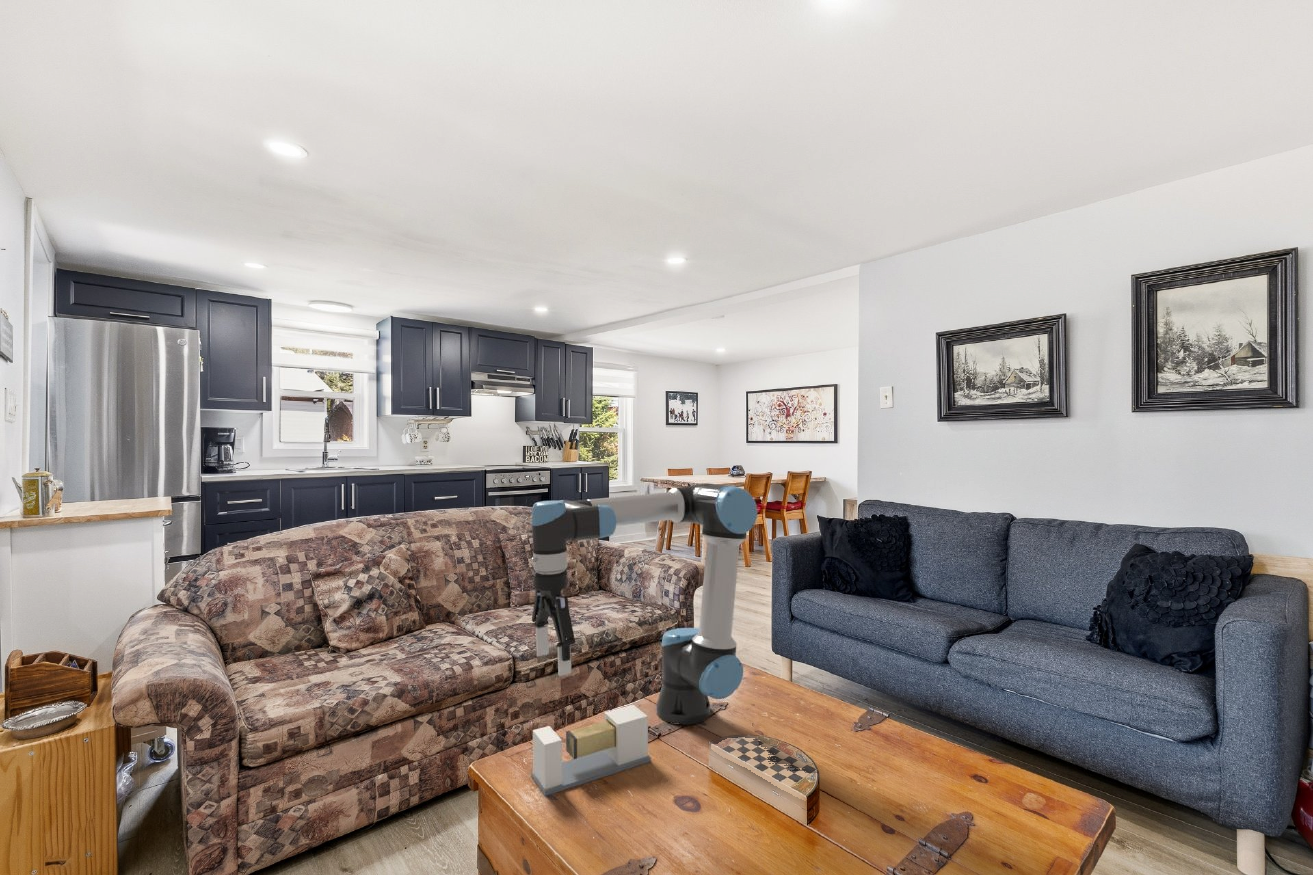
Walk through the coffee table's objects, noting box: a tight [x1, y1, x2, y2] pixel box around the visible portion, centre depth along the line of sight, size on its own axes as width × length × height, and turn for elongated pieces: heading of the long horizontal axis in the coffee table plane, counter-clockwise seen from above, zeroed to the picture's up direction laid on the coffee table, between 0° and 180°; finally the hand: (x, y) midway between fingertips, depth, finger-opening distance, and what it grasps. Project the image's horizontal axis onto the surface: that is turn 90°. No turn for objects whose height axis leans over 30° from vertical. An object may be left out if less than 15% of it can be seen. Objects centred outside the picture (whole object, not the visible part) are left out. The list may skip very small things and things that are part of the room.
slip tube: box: [565, 720, 616, 759], centre depth 145 cm, size 18×4×4 cm, turn 121°
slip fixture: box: [530, 704, 652, 797], centre depth 143 cm, size 26×9×11 cm, turn 121°
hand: (553, 664), depth 138 cm, fingers open, 13 cm apart
